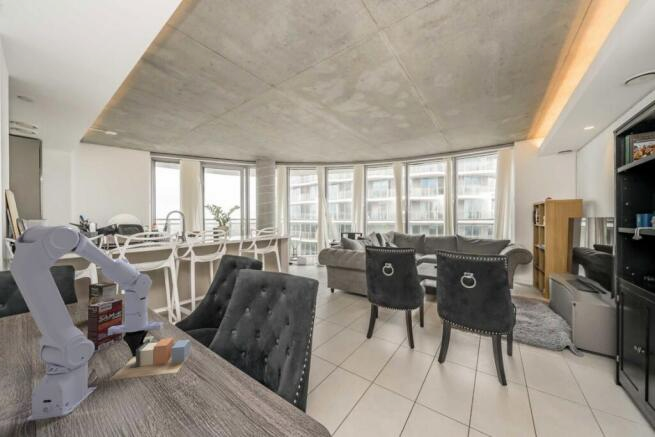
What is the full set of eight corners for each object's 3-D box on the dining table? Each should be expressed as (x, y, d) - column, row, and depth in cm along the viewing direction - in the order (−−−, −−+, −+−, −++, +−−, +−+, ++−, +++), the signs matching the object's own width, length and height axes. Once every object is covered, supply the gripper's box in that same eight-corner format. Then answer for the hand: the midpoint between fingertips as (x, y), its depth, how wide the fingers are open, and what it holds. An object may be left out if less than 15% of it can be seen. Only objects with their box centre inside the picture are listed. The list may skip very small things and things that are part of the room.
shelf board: (177, 374, 72) (177, 372, 72) (108, 382, 69) (108, 380, 69) (191, 353, 84) (191, 351, 84) (133, 358, 81) (133, 357, 81)
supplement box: (97, 353, 84) (97, 306, 85) (86, 352, 85) (86, 305, 86) (123, 341, 93) (123, 298, 93) (112, 340, 94) (112, 298, 94)
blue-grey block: (184, 361, 78) (184, 346, 78) (171, 362, 77) (171, 348, 77) (189, 352, 83) (189, 339, 83) (178, 354, 82) (178, 340, 82)
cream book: (153, 364, 76) (153, 349, 76) (140, 365, 76) (140, 351, 76) (160, 355, 81) (160, 342, 81) (148, 357, 81) (148, 343, 81)
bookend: (138, 366, 75) (138, 348, 75) (130, 367, 75) (130, 349, 75) (149, 355, 81) (149, 338, 81) (142, 356, 81) (142, 339, 81)
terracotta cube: (166, 363, 77) (166, 345, 77) (153, 364, 76) (153, 346, 76) (173, 354, 82) (173, 337, 82) (161, 355, 81) (161, 339, 81)
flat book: (148, 348, 88) (148, 343, 89) (133, 350, 87) (133, 345, 87) (154, 340, 94) (154, 335, 94) (140, 342, 93) (140, 337, 93)
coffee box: (87, 319, 114) (88, 284, 114) (104, 314, 120) (104, 281, 121) (101, 321, 112) (101, 286, 112) (117, 316, 118) (117, 282, 118)
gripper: (167, 305, 83) (167, 346, 83) (118, 308, 80) (118, 350, 80) (157, 313, 76) (157, 357, 76) (103, 317, 74) (103, 362, 73)
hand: (136, 354), depth 78 cm, fingers closed
